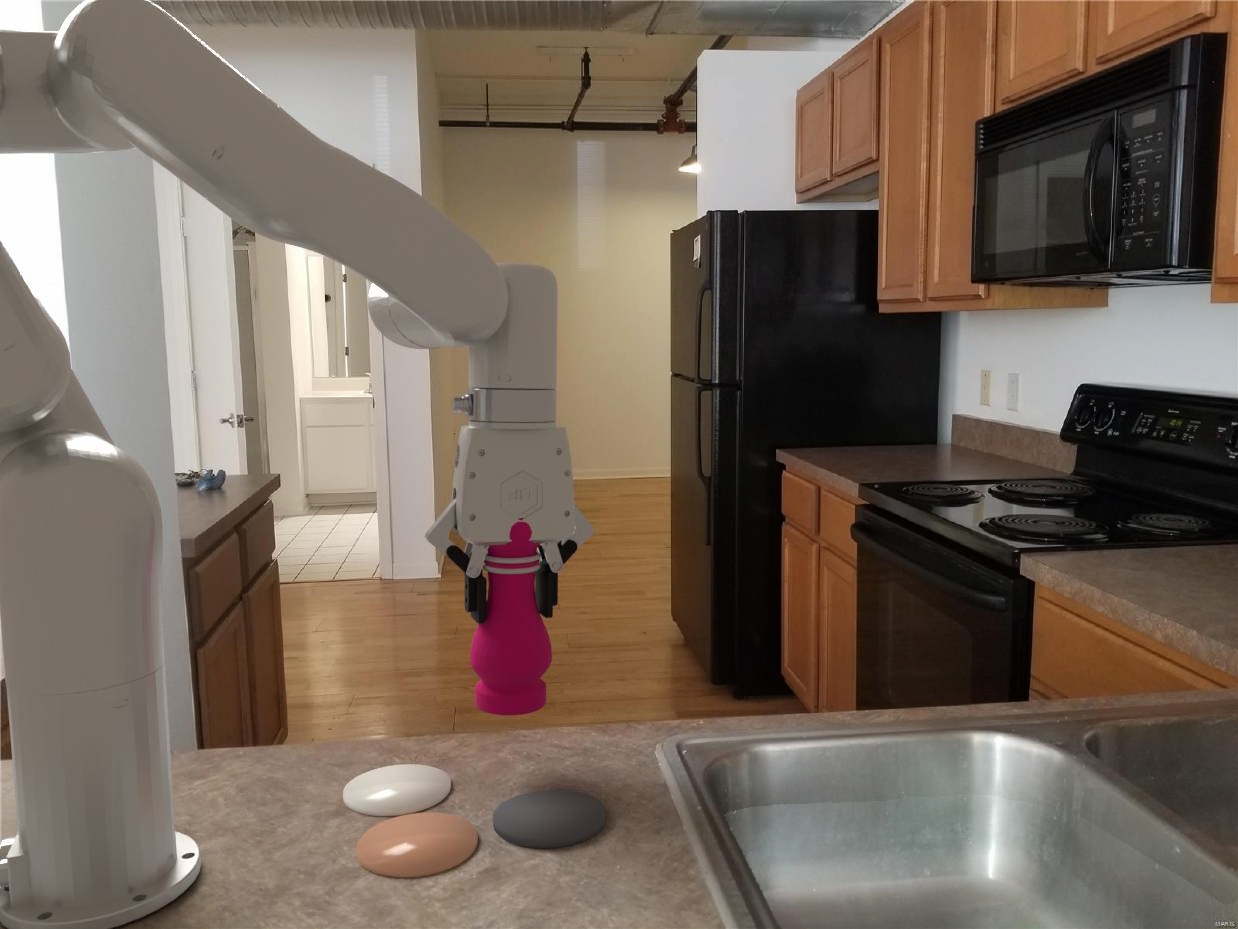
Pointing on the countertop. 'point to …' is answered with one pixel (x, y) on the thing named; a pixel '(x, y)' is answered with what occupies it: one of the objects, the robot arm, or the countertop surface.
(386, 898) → the countertop surface
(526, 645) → the pepper mill
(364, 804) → the cream oval dome
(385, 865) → the peach oval dome
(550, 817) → the dark gray oval dome
